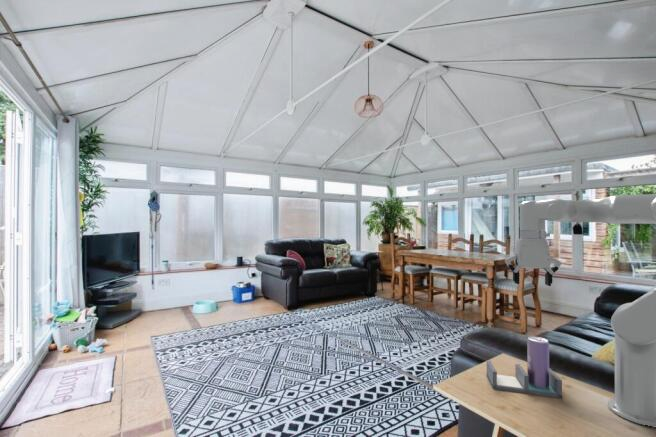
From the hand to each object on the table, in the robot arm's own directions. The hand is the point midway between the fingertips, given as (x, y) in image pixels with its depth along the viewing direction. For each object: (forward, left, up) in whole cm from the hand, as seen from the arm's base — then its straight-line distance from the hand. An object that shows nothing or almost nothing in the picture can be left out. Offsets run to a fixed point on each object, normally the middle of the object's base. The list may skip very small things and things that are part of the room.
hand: (532, 284), depth 109 cm
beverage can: (0, +6, -32) cm, 33 cm away
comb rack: (+5, +6, -33) cm, 34 cm away
